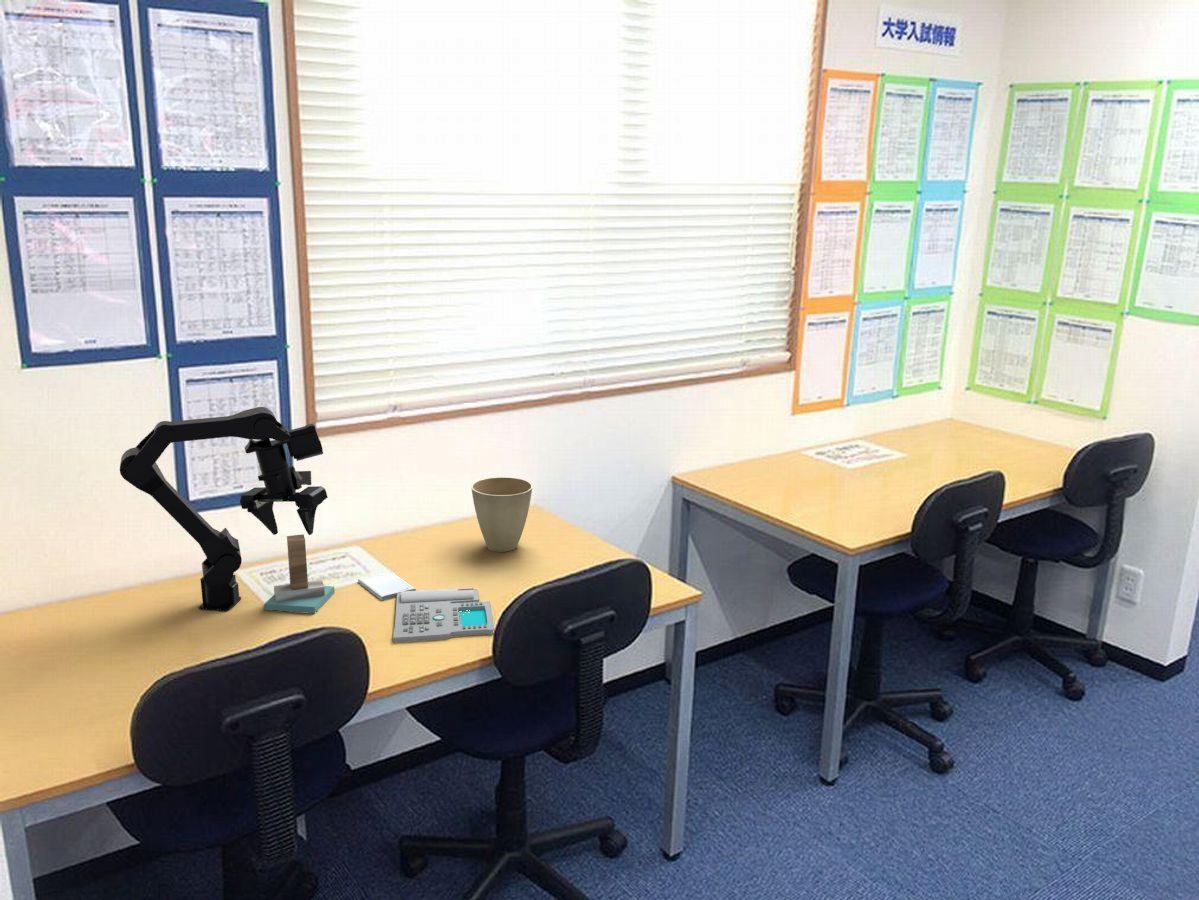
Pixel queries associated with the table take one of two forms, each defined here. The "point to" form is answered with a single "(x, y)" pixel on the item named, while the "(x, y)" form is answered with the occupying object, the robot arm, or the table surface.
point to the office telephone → (441, 615)
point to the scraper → (298, 574)
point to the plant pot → (501, 510)
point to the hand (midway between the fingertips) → (293, 534)
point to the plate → (300, 602)
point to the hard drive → (385, 585)
